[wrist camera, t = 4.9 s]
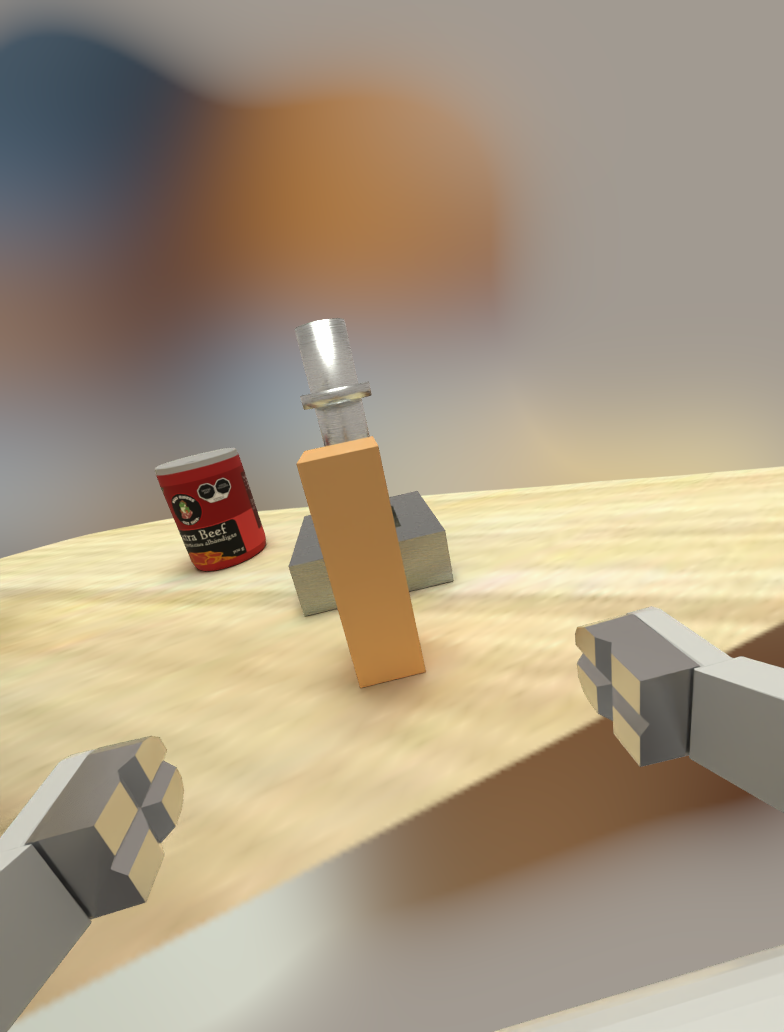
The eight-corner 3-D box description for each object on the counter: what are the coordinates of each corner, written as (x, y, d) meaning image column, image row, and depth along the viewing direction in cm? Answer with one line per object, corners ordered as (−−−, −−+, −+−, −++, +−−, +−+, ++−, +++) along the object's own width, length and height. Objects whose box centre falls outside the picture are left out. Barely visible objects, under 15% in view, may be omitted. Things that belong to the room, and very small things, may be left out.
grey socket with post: (453, 580, 28) (402, 269, 22) (304, 616, 28) (205, 308, 21) (415, 512, 44) (378, 318, 37) (318, 534, 43) (264, 341, 37)
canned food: (178, 575, 40) (134, 473, 37) (224, 542, 48) (192, 454, 44) (241, 570, 38) (201, 461, 35) (280, 536, 45) (250, 443, 42)
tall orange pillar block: (425, 671, 20) (378, 445, 16) (360, 687, 20) (296, 463, 16) (414, 632, 24) (372, 436, 20) (358, 645, 24) (304, 450, 20)
